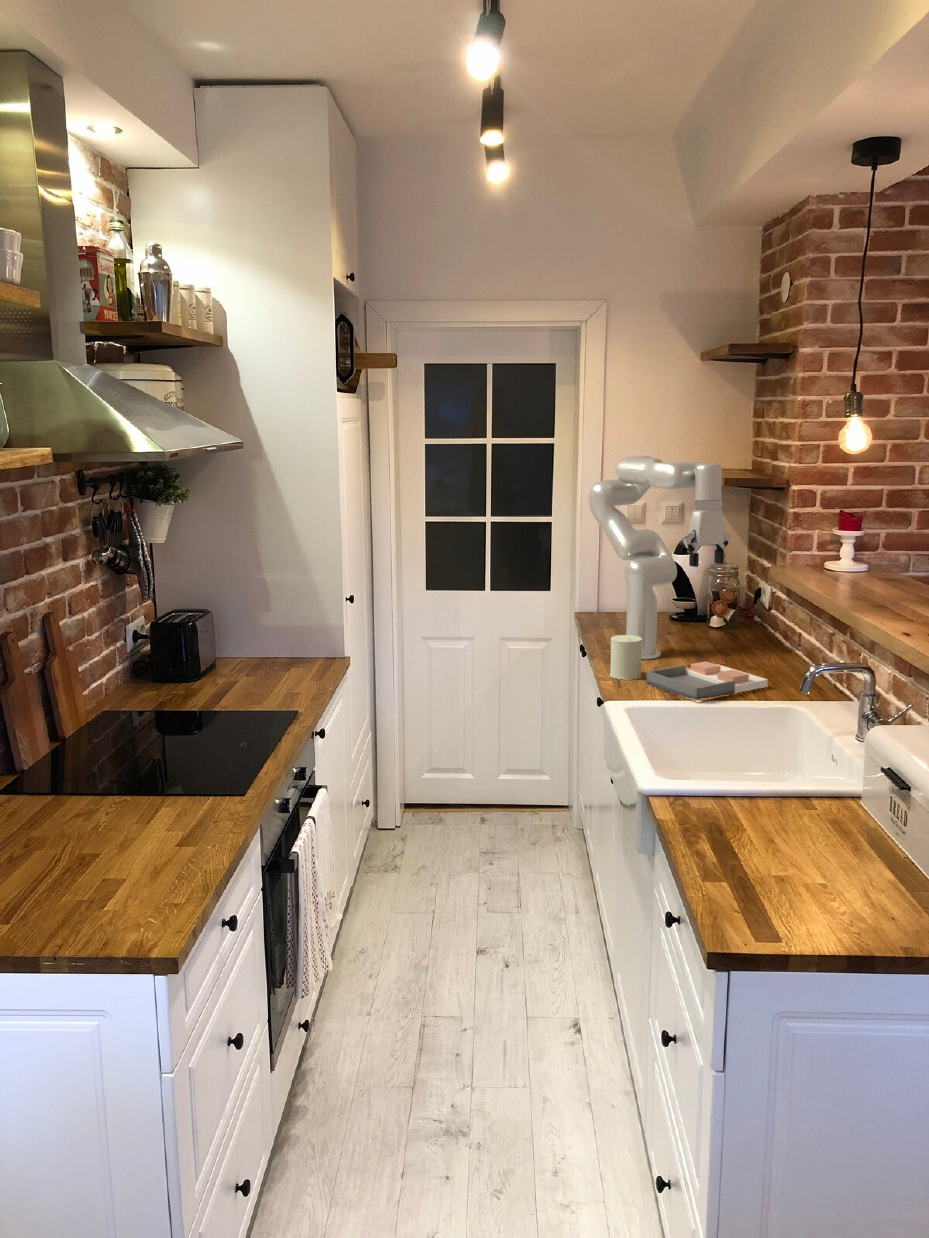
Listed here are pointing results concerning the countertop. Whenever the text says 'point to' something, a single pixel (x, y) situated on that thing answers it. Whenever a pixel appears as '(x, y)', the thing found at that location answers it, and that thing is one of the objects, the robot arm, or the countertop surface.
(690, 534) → the robot arm
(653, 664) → the countertop surface
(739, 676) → the tile
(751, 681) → the plate
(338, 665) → the countertop surface
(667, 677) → the tray
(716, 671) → the tile
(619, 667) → the can
